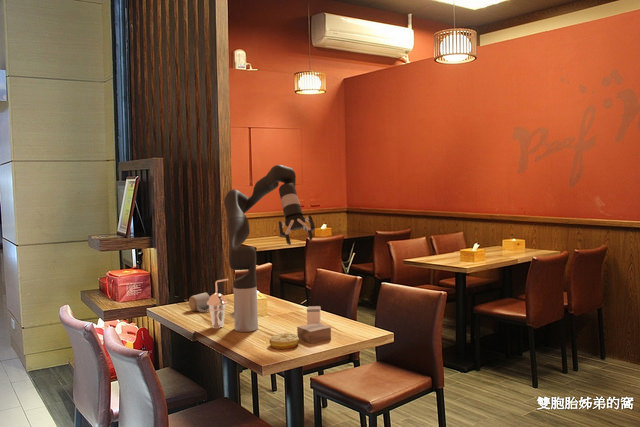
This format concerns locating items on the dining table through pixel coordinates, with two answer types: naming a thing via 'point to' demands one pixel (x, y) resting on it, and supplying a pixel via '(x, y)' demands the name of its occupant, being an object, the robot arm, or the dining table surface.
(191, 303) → the ceramic mug
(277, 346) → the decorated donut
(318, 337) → the walnut block
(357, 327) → the dining table surface
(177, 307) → the dining table surface
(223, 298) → the cup with straw
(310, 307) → the canister
